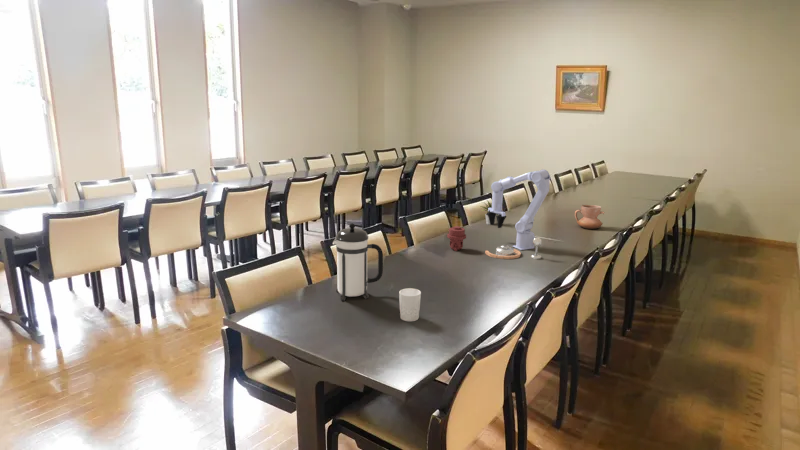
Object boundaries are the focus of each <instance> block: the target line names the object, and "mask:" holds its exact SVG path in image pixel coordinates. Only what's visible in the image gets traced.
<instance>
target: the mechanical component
mask: <svg viewBox="0 0 800 450" xmlns="http://www.w3.org/2000/svg"><path fill="white" fill-rule="evenodd" d="M465 231H466V230H465V228H463V227H461V226H459V225H457V226H456V225H455V226H453V227H450V228H449V229H448V233H447V235H446V237H447V238H448V239H449V247H450V249H451V250H453V251H454V252H457V251H459V250H463V247H464V240H465V239H467V234H466V232H465Z"/></svg>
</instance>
